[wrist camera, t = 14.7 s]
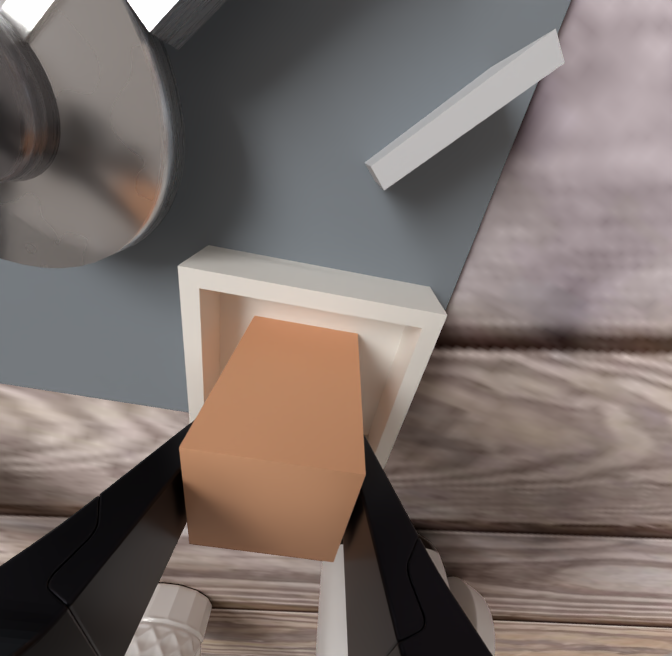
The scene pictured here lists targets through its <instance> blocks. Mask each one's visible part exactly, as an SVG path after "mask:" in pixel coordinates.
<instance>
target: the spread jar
mask: <svg viewBox="0 0 672 656" xmlns="http://www.w3.org/2000/svg"><path fill="white" fill-rule="evenodd" d="M418 536H419V537H418V538H420V539H421V541H422V543H423V545H424V546H425V548H426V550H427V552H428V554H429V556H430V557H431V559H432V561H433V563H434V564H435V566H436V568H437V570H438V571H439V573H440V575H441V576H442V578H443V580H444V581H445V583H446V584H447V586H448V588H449V589H450V591H451V592H452V594H453V596H454V597H455V599H456V600H457V602H458V603H459V605H460V606H461V608H462V609H463V611H464V612H465V614H466V615H467V617H468V619H469V620H470V622H471V623H472V625H473V626H474V628H475V629H476V631H477V632H478V634H479V635H480V637H481V638H482V640H483V641H484V643H485V645H486V646H487V648H488V649H489V651H490V652H491V654H492V655H493V656H495V631H494V623H493V619H492V615H491V612H490V609H489V607H488V605H487V602H486V601H485V599H484V598H483V596H482V595H481V594H480V593H479V592H478V591H477V590H475V589H474V588H473V587H471V586H470V585H469V584H467V583H466V582H465V581H463V580H462V579H460V578H458V577H451V576H450V577H447V576H446V573H445V569H444V566H443V563H442V560H441V558H440V555H439V553H438V551H437V550H436V548H435V546H434V545H433V544H432V543H431V542H430V541H429V540H427V539H426V538H424V537H422V536H421V535H419V534H418ZM316 656H348V644H347V621H346V598H345V575H344V552H343V538H342V540H341V543H340V546H339V548H338V551H337V554H336V557H335V559H334V562H327V561H322V568H321V580H320V594H319V611H318V628H317V644H316Z"/></svg>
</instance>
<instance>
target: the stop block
mask: <svg viewBox="0 0 672 656" xmlns="http://www.w3.org/2000/svg"><path fill="white" fill-rule="evenodd" d="M179 452H180V461H181V470H182V480H183V489H184V498H185V507H186V516H187V525H188V534H189V544H194V545H202V546H210V547H218V548H225V549H233V550H241V551H249V552H257V553H264V554H272V555H280V556H288V557H296V558H304V559H311V560H319V561H327V562H334V559H335V557H336V554H337V551H338V548H339V546H340V543H341V540H342V538H343V535H344V532H345V530H346V527H347V524H348V521H349V519H350V516H351V513H352V511H353V508H354V505H355V503H356V500H357V497H358V494H359V492H360V489H361V486H362V484H363V481H364V478H365V475H366V470H365V453H364V435H363V417H362V399H361V382H360V364H359V346H358V334H357V333H351V332H346V331H340V330H334V329H329V328H323V327H317V326H311V325H306V324H300V323H294V322H289V321H283V320H277V319H271V318H266V317H260V316H254V317H253V319H252V321H251V322H250V324H249V326H248V328H247V329H246V331H245V333H244V335H243V336H242V338H241V340H240V342H239V343H238V345H237V347H236V349H235V350H234V352H233V354H232V356H231V357H230V359H229V361H228V363H227V364H226V366H225V368H224V370H223V371H222V373H221V375H220V377H219V378H218V380H217V382H216V384H215V385H214V387H213V389H212V391H211V392H210V394H209V396H208V398H207V399H206V401H205V403H204V405H203V406H202V408H201V410H200V412H199V413H198V415H197V417H196V419H195V420H194V422H193V424H192V426H191V427H190V429H189V431H188V433H187V434H186V436H185V438H184V440H183V441H182V443H181V445H180V447H179Z"/></svg>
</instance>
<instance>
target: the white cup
mask: <svg viewBox="0 0 672 656" xmlns="http://www.w3.org/2000/svg"><path fill="white" fill-rule="evenodd" d="M211 609H212V604H211V603H210V601H209V599H208V598H207V597H206V596H204V595H203V594H201V593H200V592H198V591H196V590H193V589H190V588H187V587H184V586H180V585H174V584H165V583H158V585H157V587H156V589H155V591H154V593H153V596H152V598H151V600H150V602H149V604H148V606H147V608H146V611H145V613H144V615H143V617H142V619H141V621H140V624H139V626H138V628H137V630H136V632H135V634H134V636H133V639H132V641H131V643H130V645H129V647H128V649H127V651H126V654H125V656H201V644H202V642H203V639H204V635H205V632H206V628H207V624H208V620H209V617H210V613H211Z"/></svg>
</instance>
